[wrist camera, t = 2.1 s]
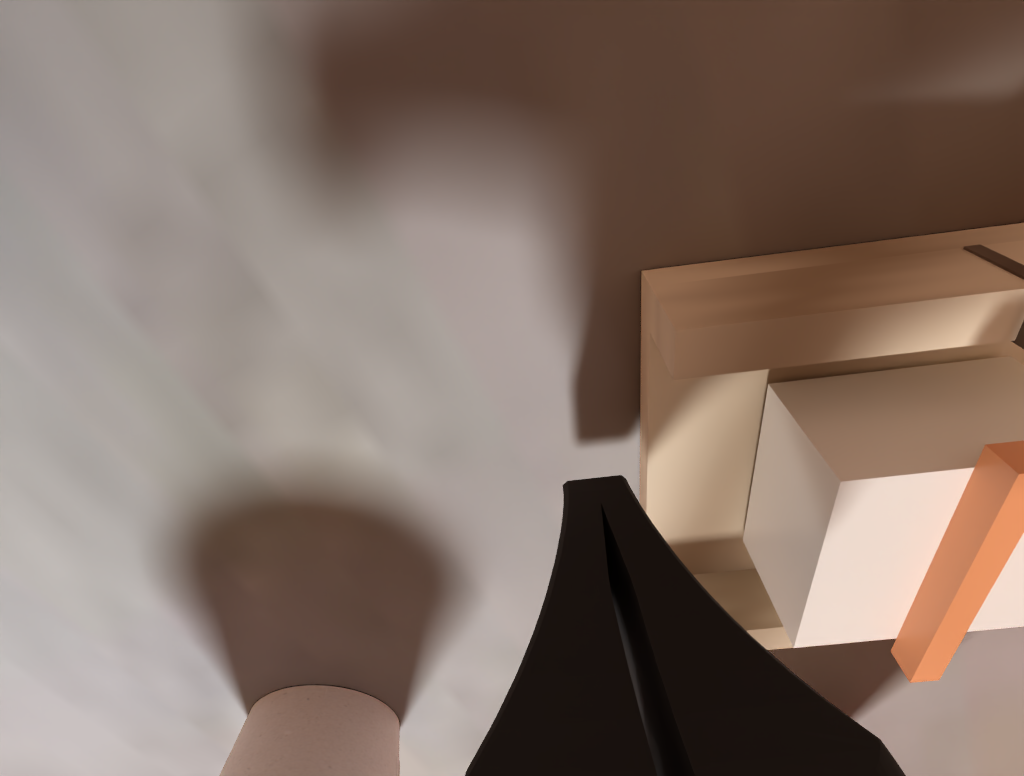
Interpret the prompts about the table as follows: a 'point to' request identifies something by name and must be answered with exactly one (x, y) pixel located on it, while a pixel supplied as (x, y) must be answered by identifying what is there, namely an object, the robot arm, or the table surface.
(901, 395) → the cream gift box
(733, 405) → the track
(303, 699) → the dixie cup
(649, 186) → the table surface
